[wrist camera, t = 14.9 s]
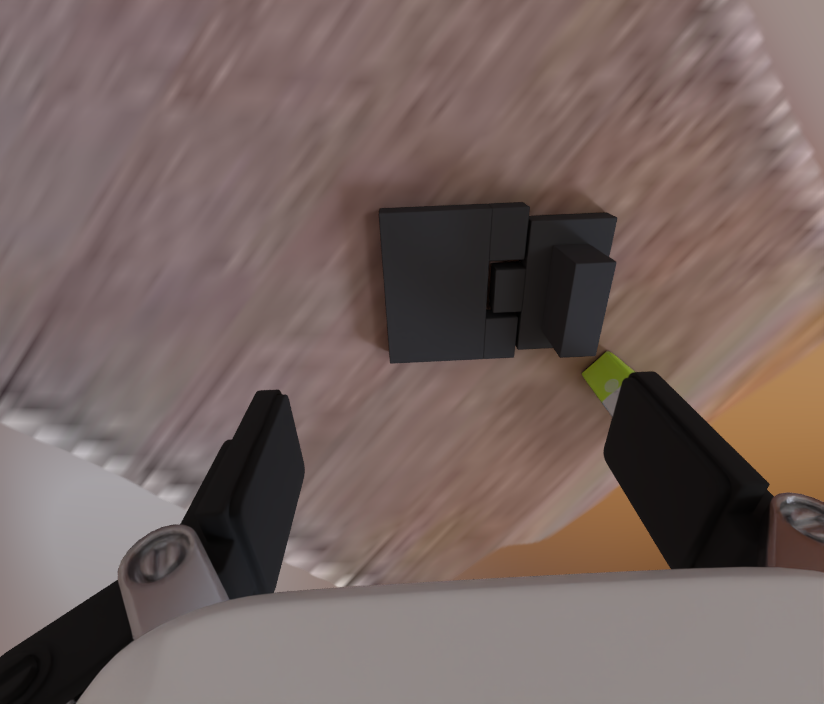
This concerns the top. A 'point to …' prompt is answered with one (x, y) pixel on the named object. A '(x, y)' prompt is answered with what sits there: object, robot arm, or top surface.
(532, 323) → the pad
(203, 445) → the top surface
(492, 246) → the base pad
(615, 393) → the box
